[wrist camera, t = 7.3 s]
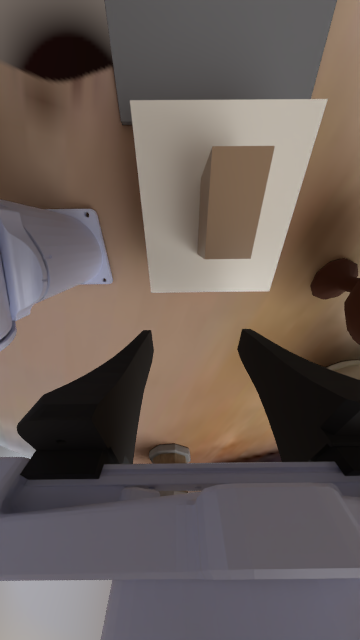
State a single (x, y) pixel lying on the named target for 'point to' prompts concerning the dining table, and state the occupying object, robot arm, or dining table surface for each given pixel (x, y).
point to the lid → (220, 187)
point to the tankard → (170, 459)
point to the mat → (216, 49)
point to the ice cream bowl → (341, 290)
